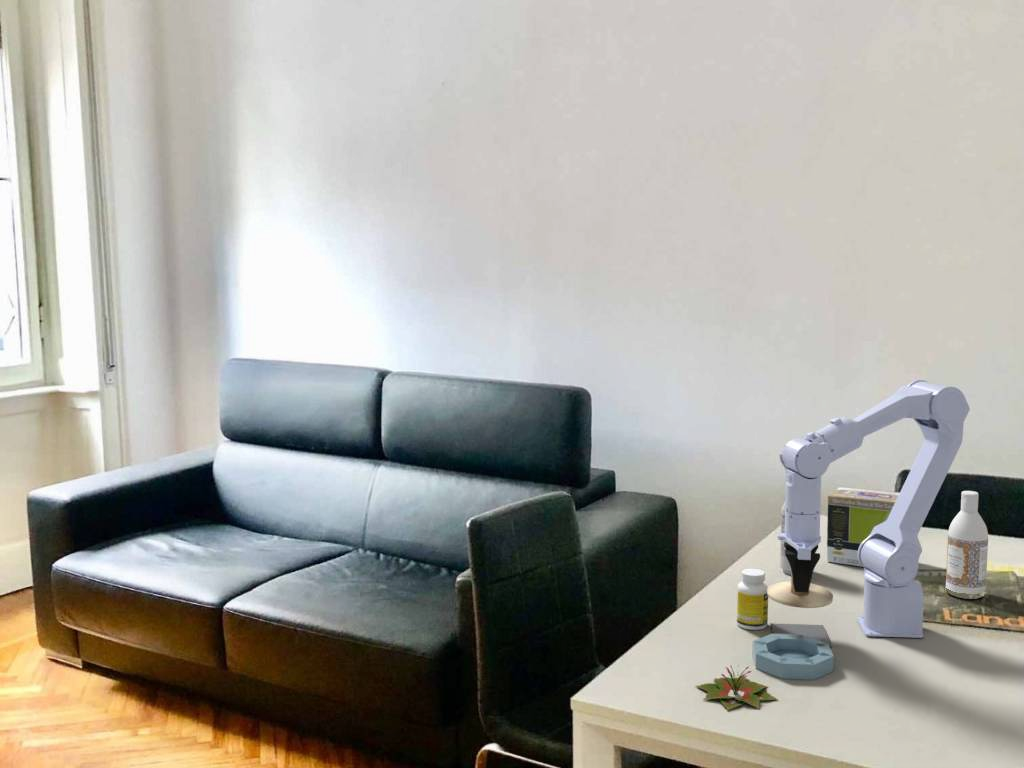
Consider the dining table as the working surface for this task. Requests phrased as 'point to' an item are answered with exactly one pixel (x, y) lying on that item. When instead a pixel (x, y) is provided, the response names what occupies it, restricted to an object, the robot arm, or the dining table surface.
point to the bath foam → (967, 548)
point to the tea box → (854, 520)
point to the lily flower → (736, 690)
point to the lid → (799, 595)
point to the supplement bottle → (752, 600)
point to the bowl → (792, 656)
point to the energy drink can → (783, 559)
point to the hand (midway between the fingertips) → (800, 587)
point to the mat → (802, 631)
